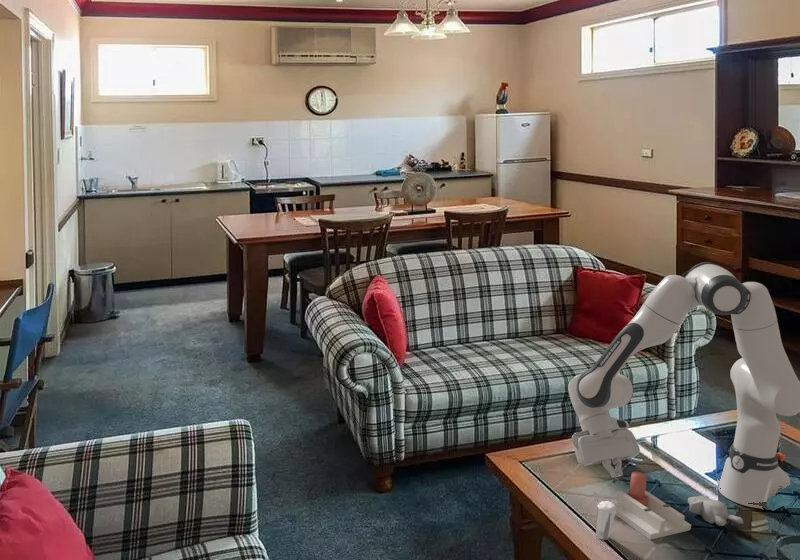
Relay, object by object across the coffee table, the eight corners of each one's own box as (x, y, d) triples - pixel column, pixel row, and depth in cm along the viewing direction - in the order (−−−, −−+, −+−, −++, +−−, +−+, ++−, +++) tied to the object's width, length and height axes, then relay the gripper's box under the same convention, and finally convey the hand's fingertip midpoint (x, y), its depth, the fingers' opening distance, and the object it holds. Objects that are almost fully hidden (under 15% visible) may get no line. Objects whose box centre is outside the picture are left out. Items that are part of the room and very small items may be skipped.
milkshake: (592, 528, 189) (598, 492, 187) (613, 535, 187) (619, 499, 184) (587, 536, 185) (593, 499, 183) (609, 543, 183) (615, 506, 180)
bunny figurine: (708, 490, 207) (748, 512, 192) (707, 507, 207) (746, 531, 193) (680, 492, 204) (718, 515, 190) (678, 510, 204) (716, 534, 190)
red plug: (635, 498, 203) (639, 470, 201) (646, 506, 199) (651, 477, 197) (622, 500, 201) (627, 472, 199) (634, 508, 197) (639, 480, 195)
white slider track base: (645, 499, 206) (647, 484, 205) (690, 530, 192) (693, 513, 191) (606, 508, 200) (608, 491, 199) (649, 539, 186) (652, 522, 185)
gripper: (575, 429, 205) (594, 478, 199) (632, 421, 214) (651, 467, 208) (563, 437, 210) (581, 485, 204) (619, 429, 219) (637, 475, 213)
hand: (617, 476), depth 206 cm, fingers closed
